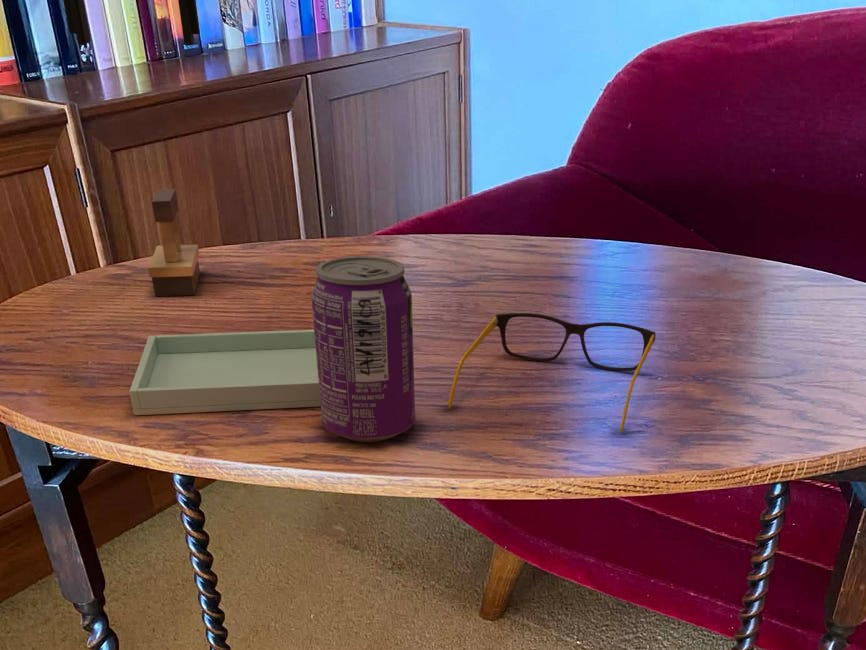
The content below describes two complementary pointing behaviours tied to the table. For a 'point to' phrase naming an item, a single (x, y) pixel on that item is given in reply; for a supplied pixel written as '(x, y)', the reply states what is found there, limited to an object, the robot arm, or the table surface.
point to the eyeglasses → (570, 329)
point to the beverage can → (364, 347)
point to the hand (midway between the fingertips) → (137, 43)
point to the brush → (172, 251)
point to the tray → (226, 372)
